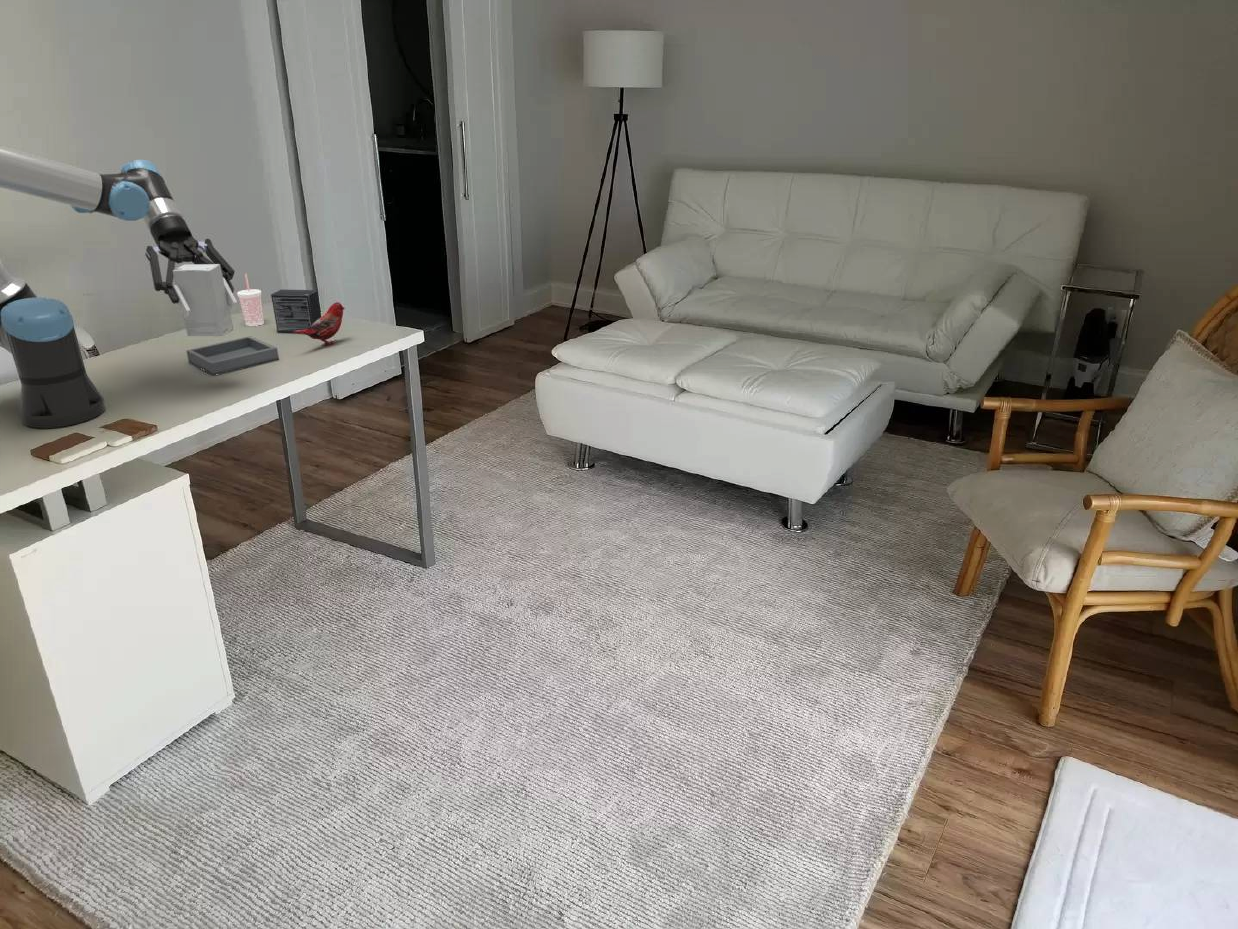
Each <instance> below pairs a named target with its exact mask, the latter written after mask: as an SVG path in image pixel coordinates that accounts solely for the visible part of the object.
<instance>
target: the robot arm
mask: <svg viewBox="0 0 1238 929" xmlns="http://www.w3.org/2000/svg"><path fill="white" fill-rule="evenodd" d="M0 188H2V189H6V190H10V191H13V192H16V193H17V192H18V193H22V194H24V195H25V194H26V195H29V196H33V197H37V198H41V199H45V200H49V201H51V202H52V201H53V202H57V203H61V204H64V205H69V206H71V208H72V209H73V210H74V211H75V212H76V213H78V214H93V213H99V214H102V215H106V216H111V217H114V218H118V219H119V220H122V221H125V222H126V221H127V222H130V221H132V222H133V221H139V220H143V221H144V223H145V225H146V227H147V228H148V230H149V232H150V233H149V234H151V236H152V239H153V240H154V243H155V244H156V246H154V247H153V246H151V245H147V246H146V249H145V254H144V255H145V258H147V260H148V262H149V266H150V271H151V276H152V281H153V288H154V290H155V291H157V292H161V291H163V292H164V294H165V295H168V298H169V299H170V301H171V303H172V304H175V305H176V304H177V306H178V309H179V310H180V311H181V313H182V317H183V316H184V318H187V317H188V316H189V313H190V309H189V307H188V305H187V303H186V301H185V299H184V297H183V295H182V293H181V291H180V289H179V287H178V285H176V284H173V283H174V275H173V270H175V269H176V264H182V263H192V264H220V267H221V271H222V276H223V280H224V285H225V290H226V295H227V299H228V304H229V309H230V310H235V309H236V306H237V304H238V301H237V299H236V298H235V296H234V291H235V288H234V286H233V284H232V281H231V280H233V277H234V275H235V270H234V268H232V266H231V265H230V264H229V263H228V262H227V261H226V260H225V259H224V257H223V256H222V255H221V254H220V253H219V251H217V249H216V248H215V247H214V245H213V243H212V240H211V239H209V238H205V240H204V241H198V240H197V239H195V238H194V236H193V234H192V232H191V230H190V227H189V226H188V224H187V223H186V220H185V219H184V217H183V215H182V213H181V211H180V209H179V207H178V206H177V203H176V202H175V200H174V198H173V196H172V194H171V192H170V190H169V188H168V186H167V184H166V183H165V178H164V177H163V176H162V174H161V173H160V171H159V170H158V169H157V166H156V165H155V164H154V163H153V162H151V161H149V160H145V159H135V160H133V161H129V162H126V163H125V164H124V165H123V166H122V167H121V169H120V172H119V173H106V174H105V173H104V174H103V173H102V174H101V173H98V172H95V171H91V170H88V169H84V168H82V167H77V166H74V165H70V164H67V163H64V162H61V161H57V160H53V159H49V158H47V157H43V156H39V155H37V154H32V153H29V152H25V151H23V150H20V149H19V150H18V149H15V148H12V147H8V146H5V145H2V144H0ZM199 249H200V250H201V251H200V250H199ZM203 253H205V255H206V256H205V255H204V254H203ZM159 255H161V256H163V257H165V258H166V259H168V261H167V269H166V277H165V281H163V277H162V273H161V268H160V262H159ZM207 257H208V258H207ZM184 318H183V319H184ZM74 323H75V322H74V319H73V316H72V314H71V312H70V309H69V307H68V306H67V305H66V304H65V303H64V302H62V301H60V300H58V299H56V298H51V297H50V298H46V297H38V296H37V295H36V293H35V292H34V291H33V290H32V289H31V287H30V286H29V285H28V283H27V282H26V280H24V279H23V278H18V277H14V276H12V275H11V274H10V273H9V271H8V270H7V269H6V268H5V267H4V265H3V264H2V263H1V262H0V348H3V349H5V350H6V351H8V353H10V354H11V355H12V358H13V361H14V364H15V368H16V371H17V374H18V375H17V376H18V377H19V382H20V384H21V387H20V400H19V402H20V403H19V416H20V419H21V422H22V424H23V425H24V426H26V427H29V428H35V429H53V428H62V427H67V426H72V425H76V424H81V423H84V422H87V421H90V420H92V419H94V418H96V417H99V416H100V415H102V413H104V411H105V410H106V405H105V401H104V397H103V396H102V395H101V393H100V391H99V389H97V387H96V386H95V384H94V383H93V381H92V380H91V379H90V377H89V375H88V374H87V370H86V367H85V362H84V358H83V355H82V352H81V348H80V344H79V341H78V338H77V337H78V336H77V333H76V329H75V325H74Z"/></svg>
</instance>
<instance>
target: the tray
mask: <svg viewBox="0 0 1238 929" xmlns="http://www.w3.org/2000/svg"><path fill="white" fill-rule="evenodd" d="M186 355H187V360H188V363H189V362H191V363H192V364H191V363H190V364H191V365H193V364H194V365H193V366H195V367H197V368H198V369H201V368H202V369H204V370H205V371H204V370H203V371H204V372H206V371H207V372H206V373H208V374H209V375H212V374H213V375H212V376H214V375H216V374H220V375H223V373H224V374H228V373H230V372H231V371H232V372H235V371H234V370H236V371H239V370H238V369H240V370H242V369H241V368H244V369H247V368H252V367H255V366H259V365H263V363H264V364H267V362H268V363H271V362H275V361H279V360H280V359H279V358H280V357H279V352H278V347H275V346H273V345H272V344H269V343H267V342H265V341H262V340H260V339H258V338H256V337H253V336H251V335H248V336H243V337H239V338H235V339H231V340H225V341H221V342H218V343H214V344H209V345H208V344H207V345H204V346H199V347H195V348H191V349H186ZM202 369H201V370H202ZM227 372H228V373H227ZM216 376H217V375H216Z"/></svg>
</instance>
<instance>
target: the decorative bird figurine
mask: <svg viewBox="0 0 1238 929" xmlns="http://www.w3.org/2000/svg"><path fill="white" fill-rule="evenodd" d="M344 310H345V307H344V306H343V305H342V303H340V302H338V301H336V302H334V303H333V304H331V306H329V308H328V309H327V311H326V313H324V314H323V315H321V318H319V319H318V320H316V321H315V322H314V323H313V324H312V325H311V326H309V328H308V329H306V330H298V331H292V333H291V334H300V335H306V336H308V337H310V338H311V339H313V340H320V341H322V342H323V343H322V344H321V346H323V347H325V346H327V345H331V344H333V343H335V342H336V341H338V340H337V339H334V340H330V341H328V340H329V339H331V338H332V337H334V336H335V335H336V334H337V333H338V332H339V330H340V328H341V325H342V321H343V317H344V316H343V315H344Z"/></svg>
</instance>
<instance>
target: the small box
mask: <svg viewBox="0 0 1238 929" xmlns="http://www.w3.org/2000/svg"><path fill="white" fill-rule="evenodd" d="M270 296H271V302H272V308H273V313H274V319H275V325H276V333H278V334H293V333H292V331H298V330H306V329H308V328H309V326H311V325H312V324H313V323H314V322H315V321H316V320H318V319H319V318H321V317H322V313H321V306H320V305H321V304H320V299H319V292H318V290H317V289H279V290H277V291H275V292H273V293H271V294H270Z"/></svg>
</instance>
